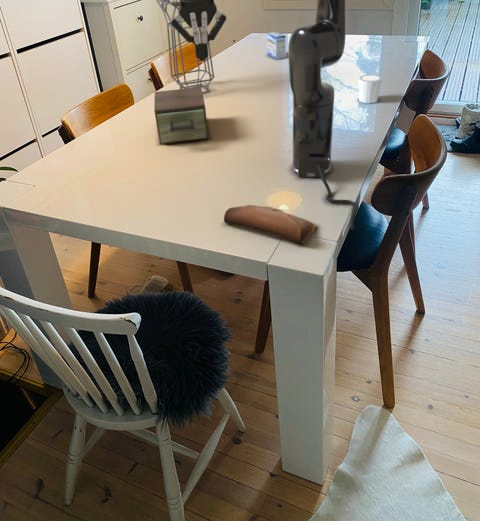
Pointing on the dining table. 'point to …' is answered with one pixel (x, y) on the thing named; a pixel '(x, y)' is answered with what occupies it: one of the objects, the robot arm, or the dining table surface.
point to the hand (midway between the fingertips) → (202, 60)
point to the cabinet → (179, 105)
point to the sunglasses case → (270, 222)
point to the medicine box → (276, 45)
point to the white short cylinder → (369, 88)
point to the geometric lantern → (181, 52)
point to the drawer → (182, 125)
